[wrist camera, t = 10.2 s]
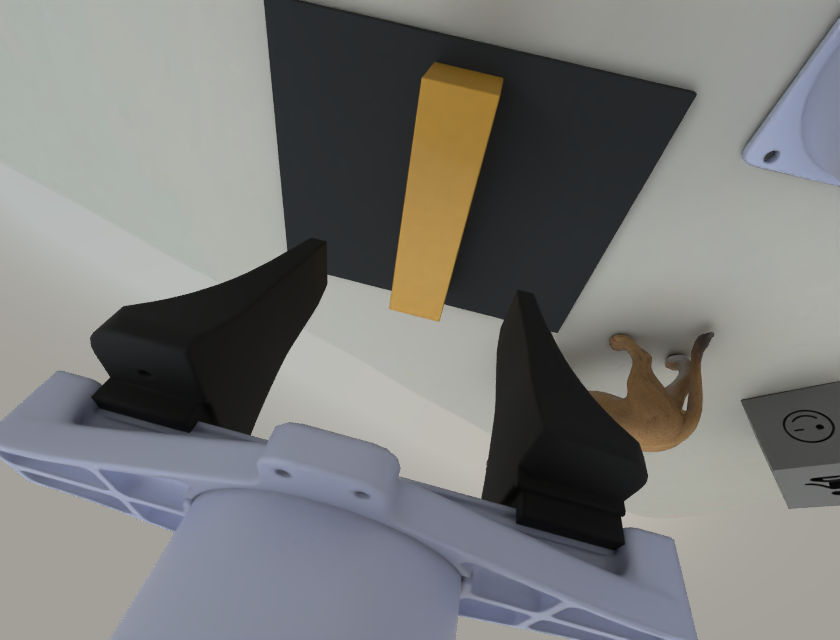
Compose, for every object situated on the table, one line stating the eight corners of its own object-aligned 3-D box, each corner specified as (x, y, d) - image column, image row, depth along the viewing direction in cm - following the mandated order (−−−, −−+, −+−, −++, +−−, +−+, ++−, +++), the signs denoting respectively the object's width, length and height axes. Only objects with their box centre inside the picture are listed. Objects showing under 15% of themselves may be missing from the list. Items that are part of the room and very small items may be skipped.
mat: (694, 91, 16) (697, 93, 16) (557, 329, 26) (557, 333, 26) (267, -8, 17) (262, -7, 16) (291, 261, 26) (288, 264, 26)
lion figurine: (515, 411, 33) (511, 526, 26) (477, 374, 30) (463, 489, 24) (724, 351, 24) (794, 496, 18) (692, 293, 22) (759, 436, 16)
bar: (446, 292, 25) (439, 322, 23) (400, 280, 25) (389, 309, 23) (503, 77, 17) (500, 95, 15) (434, 61, 17) (421, 76, 15)
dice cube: (840, 381, 24) (894, 457, 21) (849, 426, 26) (899, 501, 23) (740, 400, 27) (773, 470, 23) (757, 439, 29) (788, 508, 25)
